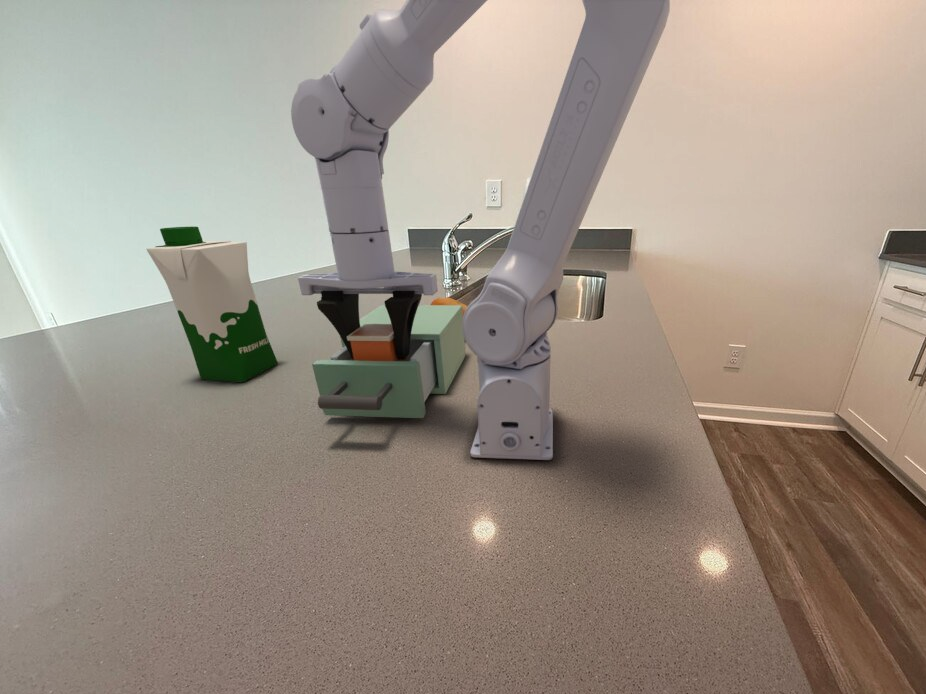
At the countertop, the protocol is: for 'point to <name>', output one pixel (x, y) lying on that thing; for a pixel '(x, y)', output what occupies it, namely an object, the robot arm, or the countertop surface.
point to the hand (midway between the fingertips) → (380, 356)
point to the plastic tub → (373, 343)
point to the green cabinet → (433, 337)
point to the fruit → (448, 302)
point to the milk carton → (215, 304)
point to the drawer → (377, 383)
